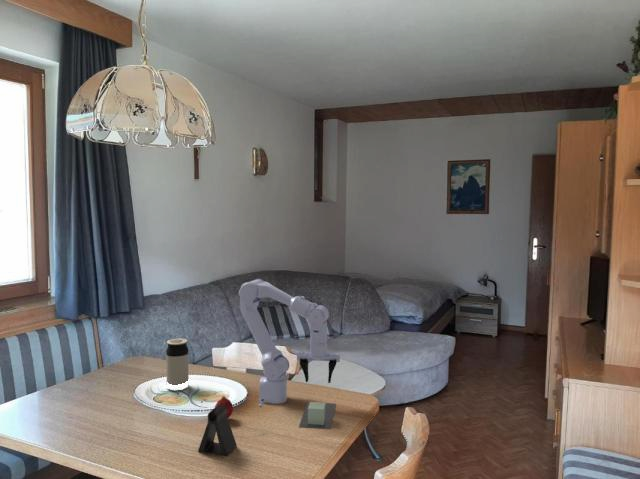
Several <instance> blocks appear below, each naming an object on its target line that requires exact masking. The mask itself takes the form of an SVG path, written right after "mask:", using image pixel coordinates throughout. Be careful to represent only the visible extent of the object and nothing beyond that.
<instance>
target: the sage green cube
mask: <svg viewBox="0 0 640 479" xmlns="http://www.w3.org/2000/svg"><path fill="white" fill-rule="evenodd" d="M326 403H327V402H314V401H310V404H309V407H308V424H315V425H324V422H325V406H326Z"/></svg>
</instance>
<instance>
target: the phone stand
mask: <svg viewBox="0 0 640 479" xmlns="http://www.w3.org/2000/svg"><path fill="white" fill-rule="evenodd" d="M220 405H221V404H219V405H218V406H217V407H215V406H214V408H213V409H212V410H211V411H209V412H208V414H207V424H206V427H205V430H204V432H203V435H202V439H201V441H200V444H199V447H198V449H197V453H199V454H200V453H201V454H207V455H208V454H209V455H214V456H215V455H216V456H222V457H228V456H230V454H231V452H233V450H234V449H236V447H237V442H236V439H235V435H234V433H233V429H232V426H231V424H230V421H229V417H227V407H226V406H225V405H224V404H223V405H222V406H221V407H219V406H220ZM218 407H219V408H218ZM216 436H217V440H218V441H217V442H215V438H216Z"/></svg>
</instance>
